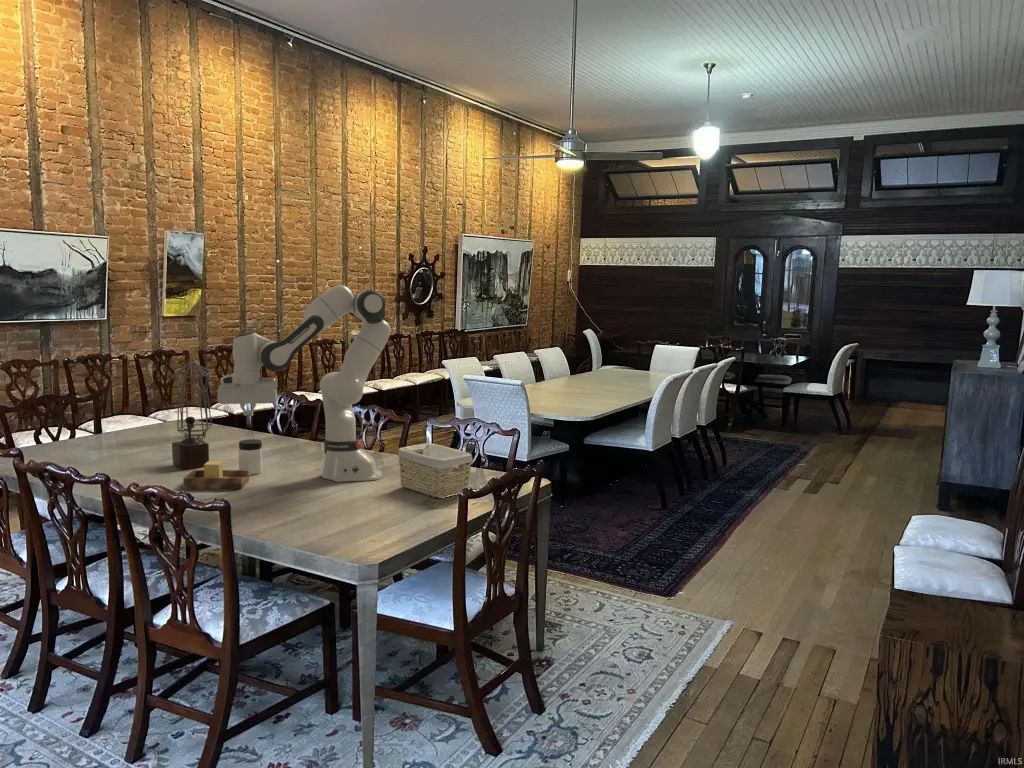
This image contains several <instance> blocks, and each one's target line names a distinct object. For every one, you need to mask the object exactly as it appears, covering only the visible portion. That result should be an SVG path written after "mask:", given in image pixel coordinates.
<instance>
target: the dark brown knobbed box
mask: <svg viewBox="0 0 1024 768" xmlns="http://www.w3.org/2000/svg"><path fill="white" fill-rule="evenodd" d="M184 422H185V423H186V425H187V424H188V427H187V426H186V428H185V429H184V428H183V431H184V432H186V431H187V432H188V431H189V436H188V438H185V437H184V439H181V440H179V441H174V442H171V455H172V456H171V457H172V466H173V467H175V468H177V469H179V470H182V471H188V470H197V469H202V468H204V464H205V463H207V462H208V461H210V453H209V450H210V444H209V443H208V442H207V441H204V439H198V438H200V435H199V436H197V437H196V436H195V437H194V436H191V434H192V432H191V430H193V429H194V428H195V426H194V425H195V424H194V423H195V422H196V418H195V417H194V416H188V417H185V419H184ZM183 431H182V432H183Z"/></svg>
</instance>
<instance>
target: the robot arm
mask: <svg viewBox="0 0 1024 768" xmlns="http://www.w3.org/2000/svg"><path fill="white" fill-rule="evenodd" d="M386 306H387V305H386V299H385V297H384V296H383V294H381V293H380V292H379V291H376V290H375V289H367V290H363V291H361V292H360V291H359V292H358V293H354V292H352V290H351V289H350V288H349V287H347V286H346V285H344V284H337V285H335V286H333V287H331V288H330V289H327V290H326V291H324V292H322V293H321V294H320V295H319V296H318V297H316V298H315V299H314V300H313V301H311V303H310V304H309V305H308V306H307V307H306V308H305V310H304V312H303V318H302V321H301V322H300V324H299V326H297V327H296V328H295V329H293V330H292V331H291V333H289V334H288V335H287V336H286V337H284V338H283V339H282V340H279V341H277V340H272V339H268V338H266V337H263V336H262V335H260V334H258V333H257V332H255V331H246V332H242V333H241V332H240V333H239V334H237V335H235V337H234V338H233V341H232V342H233V343H232V359H233V363H234V364H233V373H229V374H227V375H223V376H222V377H221V378H220V380H219V383H220V385H219V386H218V389H217V403H218V404H220V405H239V406H240V409H241V411H243V416H244V417H253V416H254V410H255V409H256V407H257V404H275V403H276V402H277V401H278V392H277V389H278V381H277V380H276V379H275V378H274V377H270V376H269V377H261V373H260V370H261V369H260V368H261V367H264V368H265V369H267V370H268V371H271V372H274V373H275V372H276V373H277V372H282V371H284V370H286V369H287V368H288V367H289V366H290V364H291V362H292V360H293V358H294V356H295V355H296V354H297V353H298V352H299V351H300V350H301V349H302V348H303V347H305V345H307V343H309V342H310V341H311V340H312V339H313V338H314V337H316V336H317V335H318V334H321V333H322V332H323V331H325V330H326V329H328V328H329V327H331V326H332V325H334V324H336V322H338V321H339V320H340V319H341V318H342V317H344V316H345V315H347V314H349V315H350V316H352V317H353V318H355V319H356V320H359V321H361V328H360V330H359V332H358V333H357V334H356V336H355V337H354V339H353V341H352V342H351V344H350V345H349V347H348V349H347V350H346V352H345V353H344V355H343V357H344V359H343V362H342V364H341V367H340V370H339V371H331V372H328V373H326V374H324V375H323V376H322V377H321V379H320V382H319V390H320V392H321V398H322V404H323V411H324V418H325V439H324V442H323V453H324V460H323V467H322V472H321V475H320V476H321V478H322V479H326V480H330V481H334V482H337V483H338V482H339V483H341V482H359V481H360V482H361V481H365V482H366V481H376V480H379V479H380V478H381V477H382V475H383V474H382V471H381V470H380V469H378V468H377V466H376V461H375V458H374V457H373V456H371V455H370V454H369V453H367V452H366V451H365V450H364V449H362V442H361V439H358V438H357V435H356V434H357V433H356V431H357V429H356V425H357V423H356V422H357V420H356V416H355V412H354V410H353V409H354V408H353V405H355V404H357V403H359V402H360V401H361V399H362V397H363V396H364V388H365V384H366V383H367V379H368V378H369V377H368V376H369V374H370V372H371V370H372V368H373V366H374V364H375V363H376V361H377V360H378V358H379V356H380V355H381V353H382V352H383V350H384V348H385V346H386V345H387V342H388V341H389V338H390V335H391V331H392V328H391V326H390V324H389V323H388V322H387V321H386V319H385V318H386ZM384 319H385V320H384ZM246 404H250V407H251V408H250V409H249V410H247V409H246V407H245V406H246Z"/></svg>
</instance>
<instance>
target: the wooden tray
mask: <svg viewBox="0 0 1024 768" xmlns="http://www.w3.org/2000/svg"><path fill="white" fill-rule="evenodd" d="M249 477H250V475H249V470H239V469H223V477H204V469H192V471H190V472H189V473H188V474H187V475H186V476H184V477H183V480H182V481H183V490H186V489H188V490H196V491H197V490H199V491H201V490H203V491H205V490H209V491H211V490H212V491H214V490H217V491H218V490H220V491H221V490H226V491H227V490H228V491H229V490H232V491H233V490H234V491H235V490H236V491H238V490H243V488H244V487H245V486H246V484H247V483H248V482H249V480H250V478H249Z"/></svg>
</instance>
